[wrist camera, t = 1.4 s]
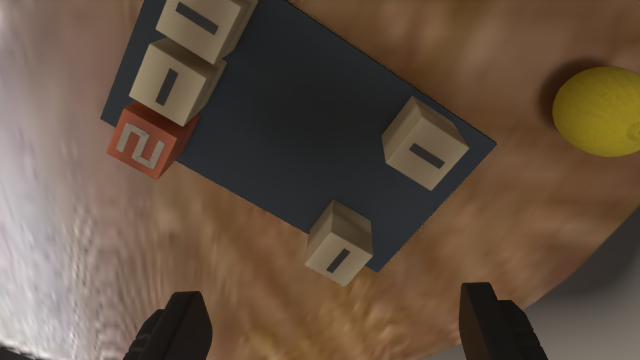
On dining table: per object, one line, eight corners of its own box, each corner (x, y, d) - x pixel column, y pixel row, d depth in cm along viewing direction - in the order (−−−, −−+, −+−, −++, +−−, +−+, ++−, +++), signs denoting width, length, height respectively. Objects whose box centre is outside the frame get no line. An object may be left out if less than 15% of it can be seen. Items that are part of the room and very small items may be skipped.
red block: (138, 128, 34) (104, 153, 29) (155, 88, 32) (122, 108, 27) (182, 153, 34) (156, 181, 30) (201, 115, 33) (176, 139, 28)
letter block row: (309, 229, 37) (303, 266, 33) (412, 95, 31) (422, 117, 26) (346, 249, 38) (345, 288, 33) (453, 122, 32) (470, 148, 27)
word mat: (102, 117, 34) (99, 119, 33) (174, -75, 27) (172, -76, 27) (377, 269, 39) (377, 272, 39) (496, 142, 32) (497, 144, 32)
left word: (159, 77, 32) (127, 96, 27) (207, -34, 28) (178, -33, 23) (206, 105, 32) (182, 127, 28) (258, 0, 28) (240, 7, 24)
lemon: (630, 64, 29) (719, 97, 22) (590, 135, 32) (659, 184, 25) (555, 48, 29) (621, 75, 22) (522, 120, 31) (571, 165, 24)
